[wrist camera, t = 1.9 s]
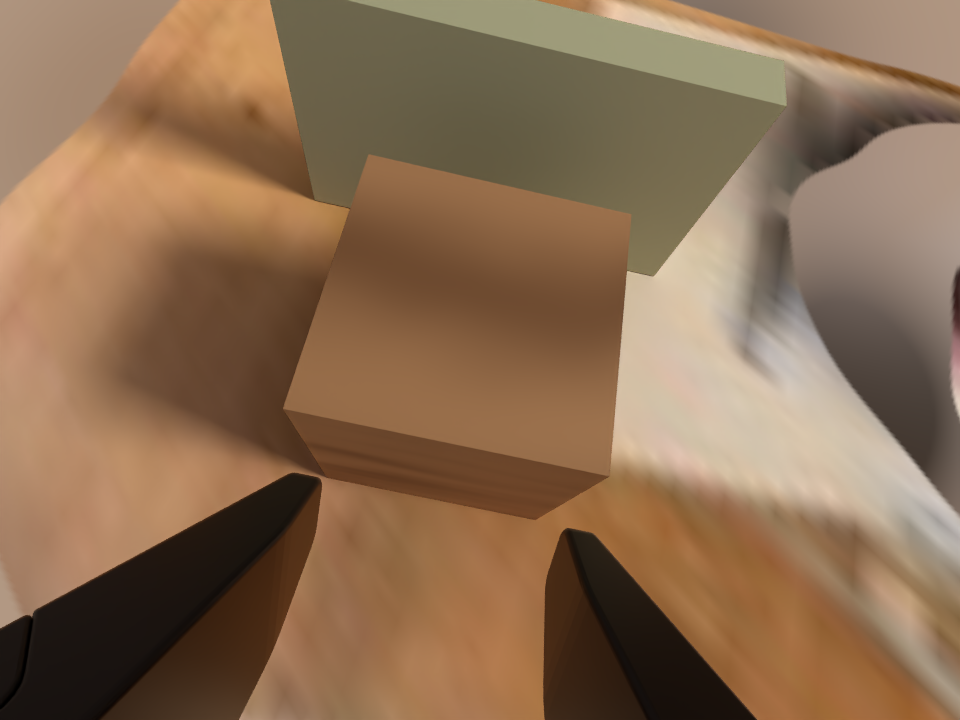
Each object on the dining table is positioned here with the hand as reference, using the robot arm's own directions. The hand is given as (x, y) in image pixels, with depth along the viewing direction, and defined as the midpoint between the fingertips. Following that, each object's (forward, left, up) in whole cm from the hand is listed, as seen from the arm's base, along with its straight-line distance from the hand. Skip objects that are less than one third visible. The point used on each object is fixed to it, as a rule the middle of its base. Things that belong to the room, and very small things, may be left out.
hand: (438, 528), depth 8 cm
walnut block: (+7, +1, -14) cm, 15 cm away
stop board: (+15, +3, -14) cm, 21 cm away
